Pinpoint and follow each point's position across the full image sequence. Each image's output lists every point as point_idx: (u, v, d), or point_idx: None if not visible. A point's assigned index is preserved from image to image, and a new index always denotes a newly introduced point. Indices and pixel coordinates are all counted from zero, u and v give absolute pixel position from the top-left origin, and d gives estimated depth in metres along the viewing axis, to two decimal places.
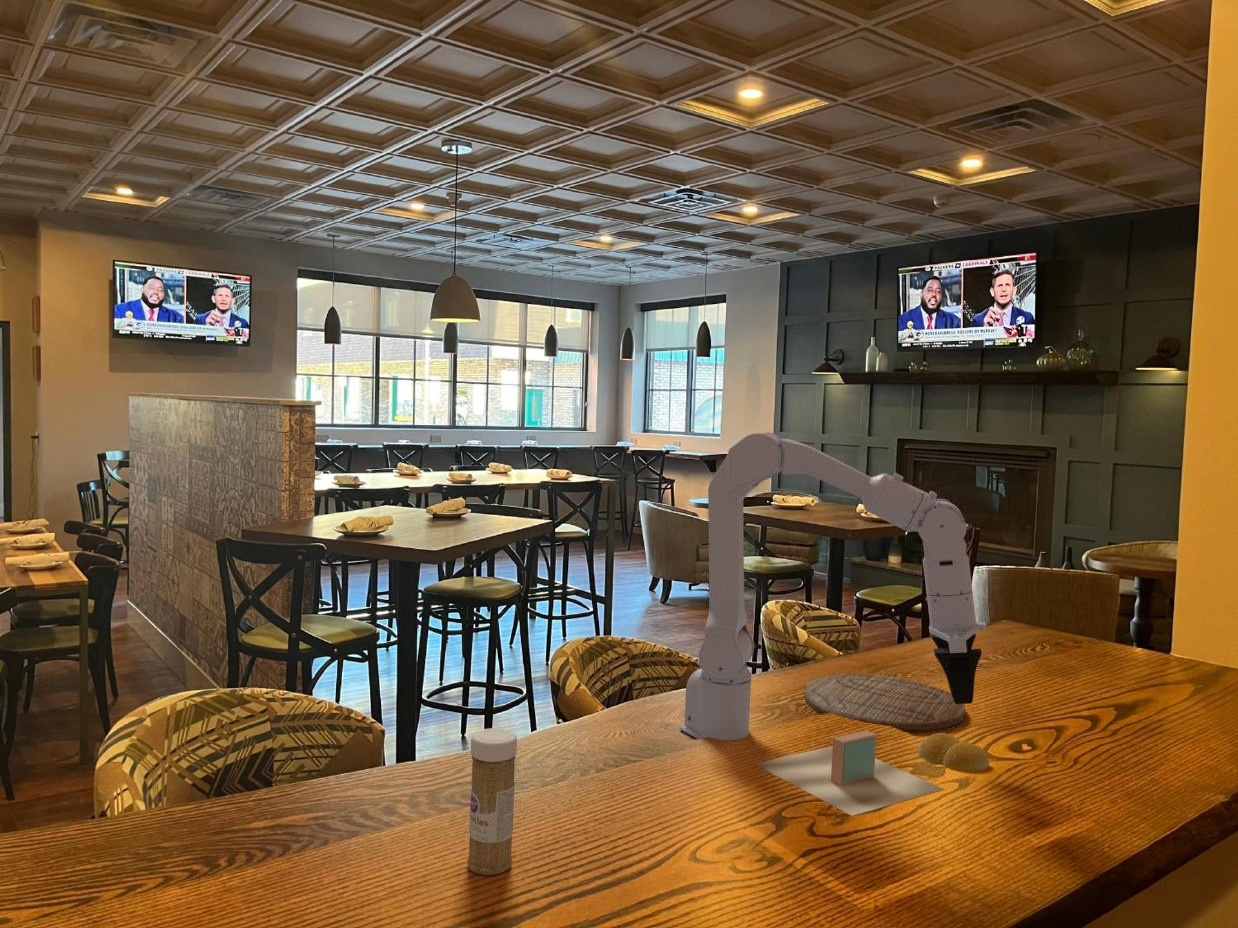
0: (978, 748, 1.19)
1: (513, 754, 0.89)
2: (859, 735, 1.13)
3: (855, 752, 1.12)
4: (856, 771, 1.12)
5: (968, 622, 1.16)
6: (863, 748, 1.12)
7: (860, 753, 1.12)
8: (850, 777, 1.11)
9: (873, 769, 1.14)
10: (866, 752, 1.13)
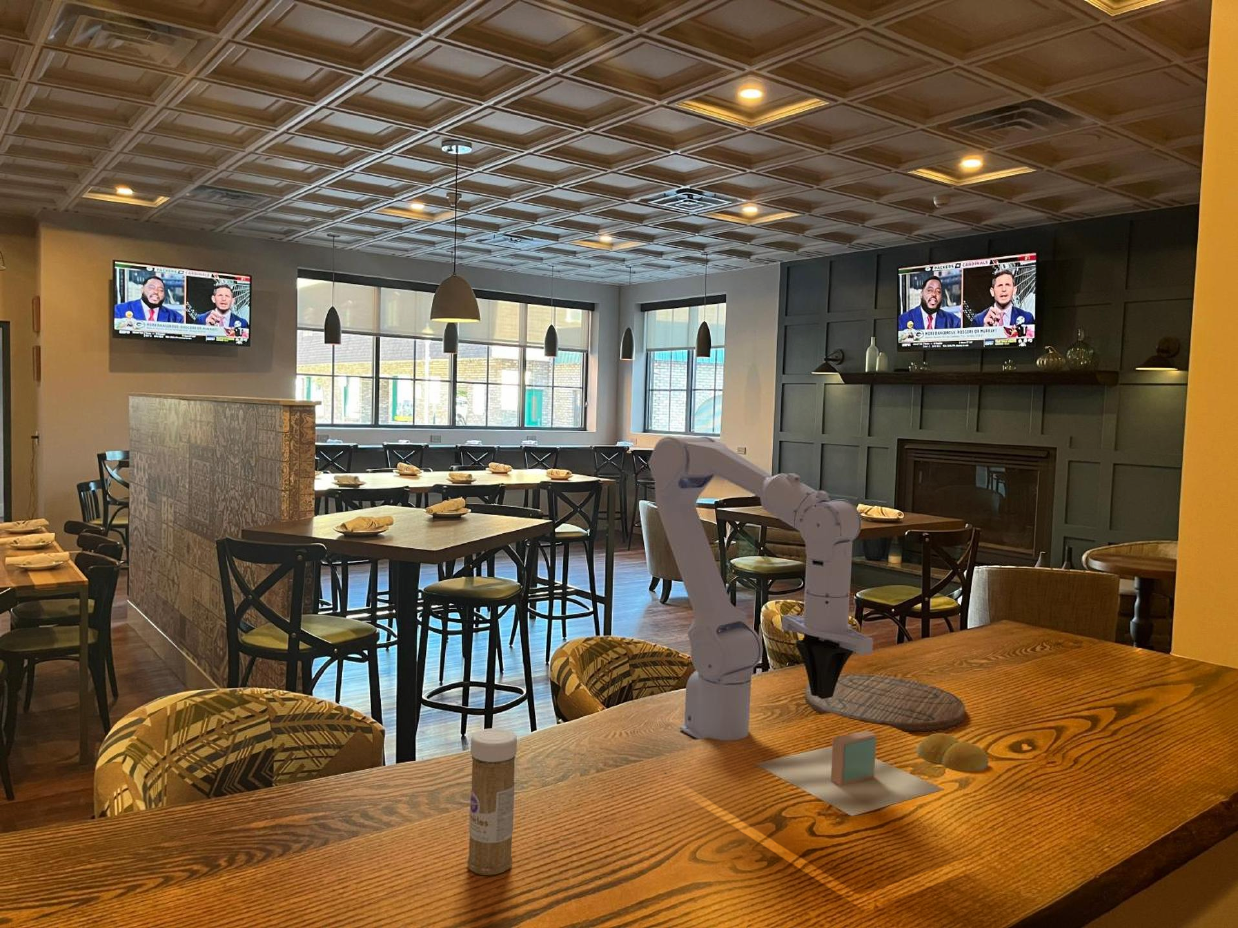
0: (977, 748, 1.19)
1: (513, 754, 0.89)
2: (859, 735, 1.13)
3: (855, 752, 1.12)
4: (856, 771, 1.12)
5: None
6: (863, 748, 1.12)
7: (860, 753, 1.12)
8: (850, 777, 1.11)
9: (873, 769, 1.14)
10: (866, 752, 1.13)
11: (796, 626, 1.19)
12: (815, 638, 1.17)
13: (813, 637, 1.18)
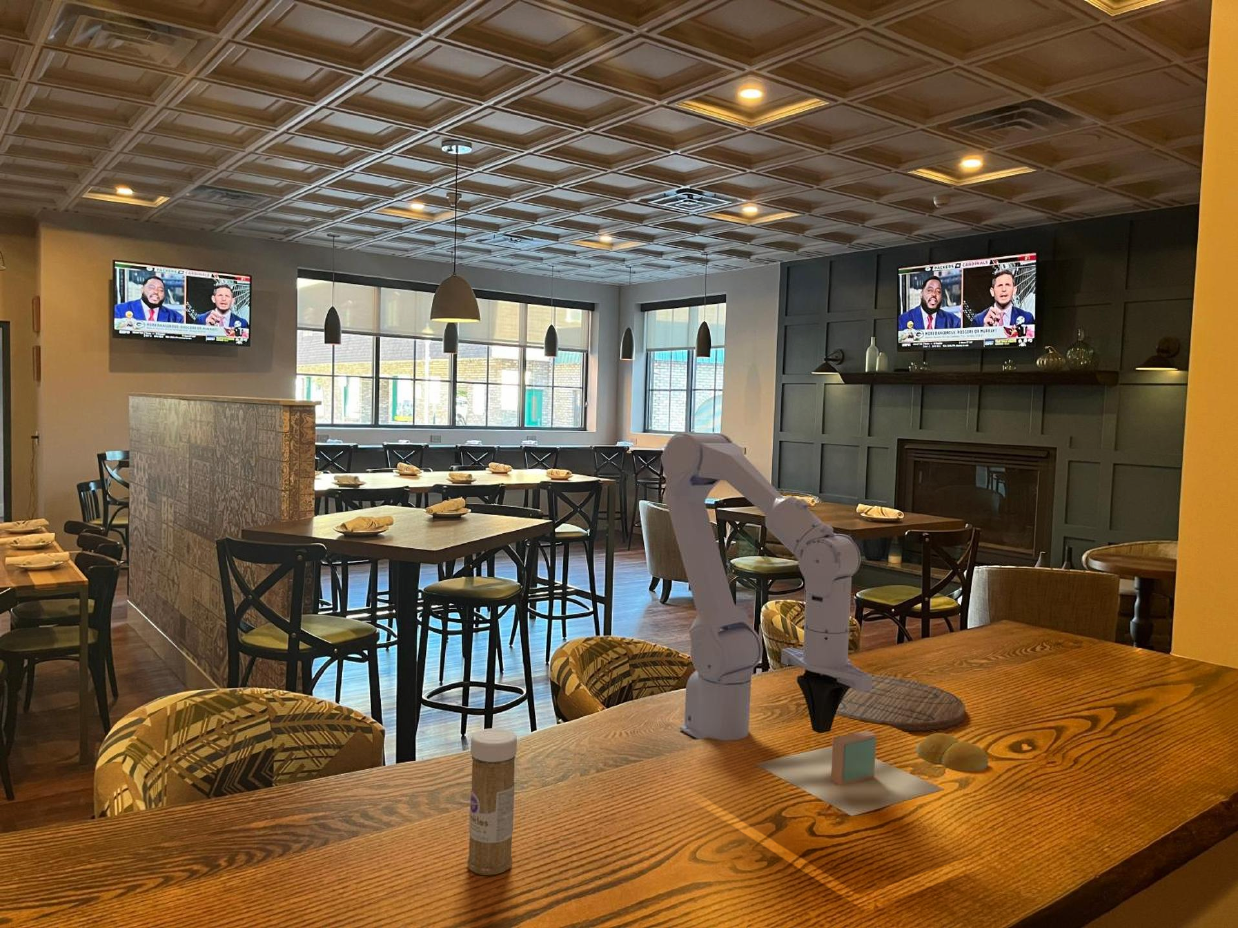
0: (977, 748, 1.19)
1: (513, 754, 0.89)
2: (859, 735, 1.13)
3: (855, 752, 1.12)
4: (856, 771, 1.12)
5: (847, 658, 1.16)
6: (863, 748, 1.12)
7: (860, 753, 1.12)
8: (850, 777, 1.11)
9: (873, 769, 1.14)
10: (866, 752, 1.13)
11: (795, 661, 1.19)
12: (814, 673, 1.18)
13: (812, 672, 1.18)
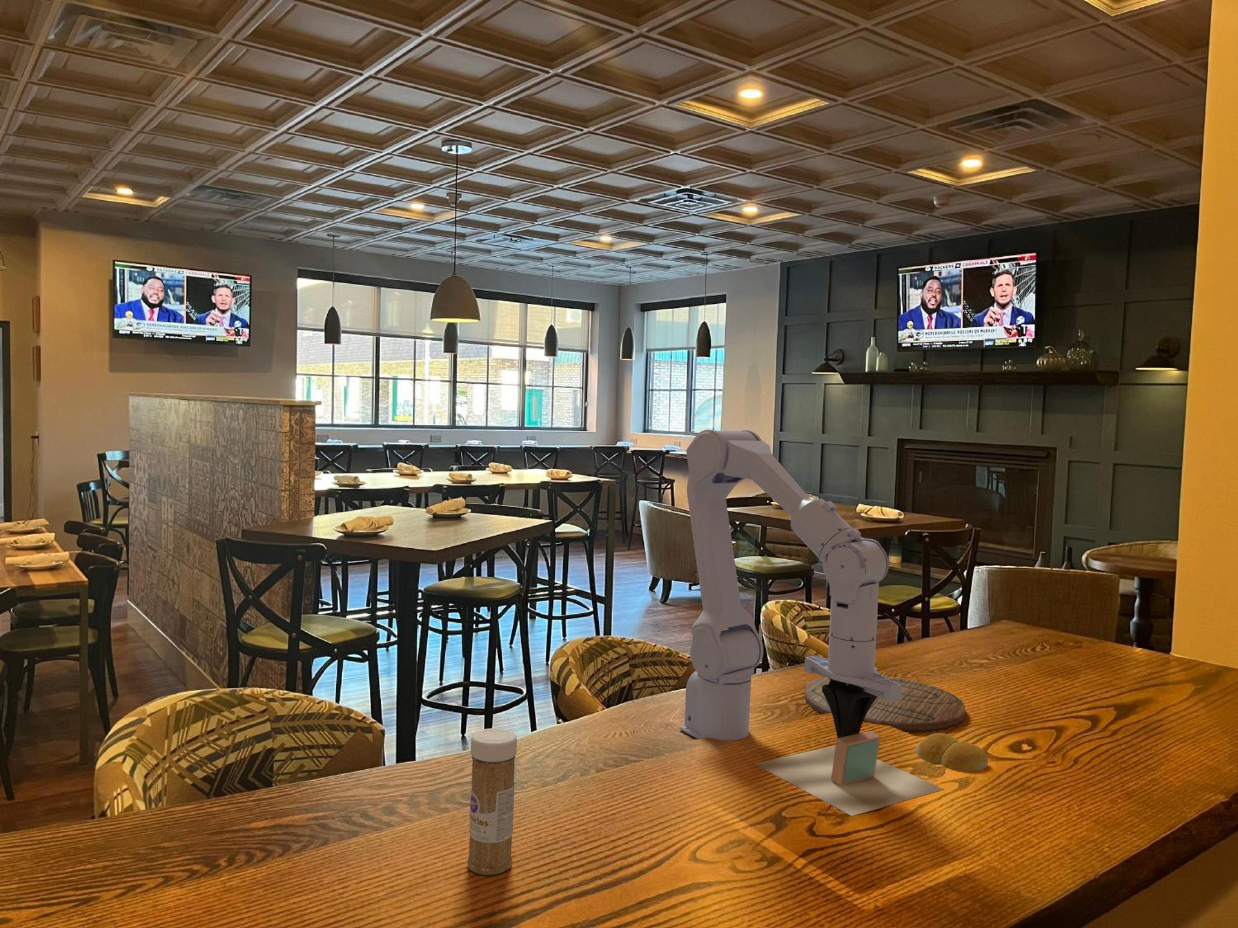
0: (977, 748, 1.20)
1: (513, 754, 0.89)
2: (862, 736, 1.12)
3: (858, 753, 1.11)
4: (857, 772, 1.12)
5: (874, 667, 1.12)
6: (865, 749, 1.12)
7: (862, 754, 1.12)
8: (851, 777, 1.11)
9: (874, 769, 1.14)
10: (868, 753, 1.12)
11: (820, 669, 1.15)
12: (840, 682, 1.14)
13: (838, 681, 1.14)
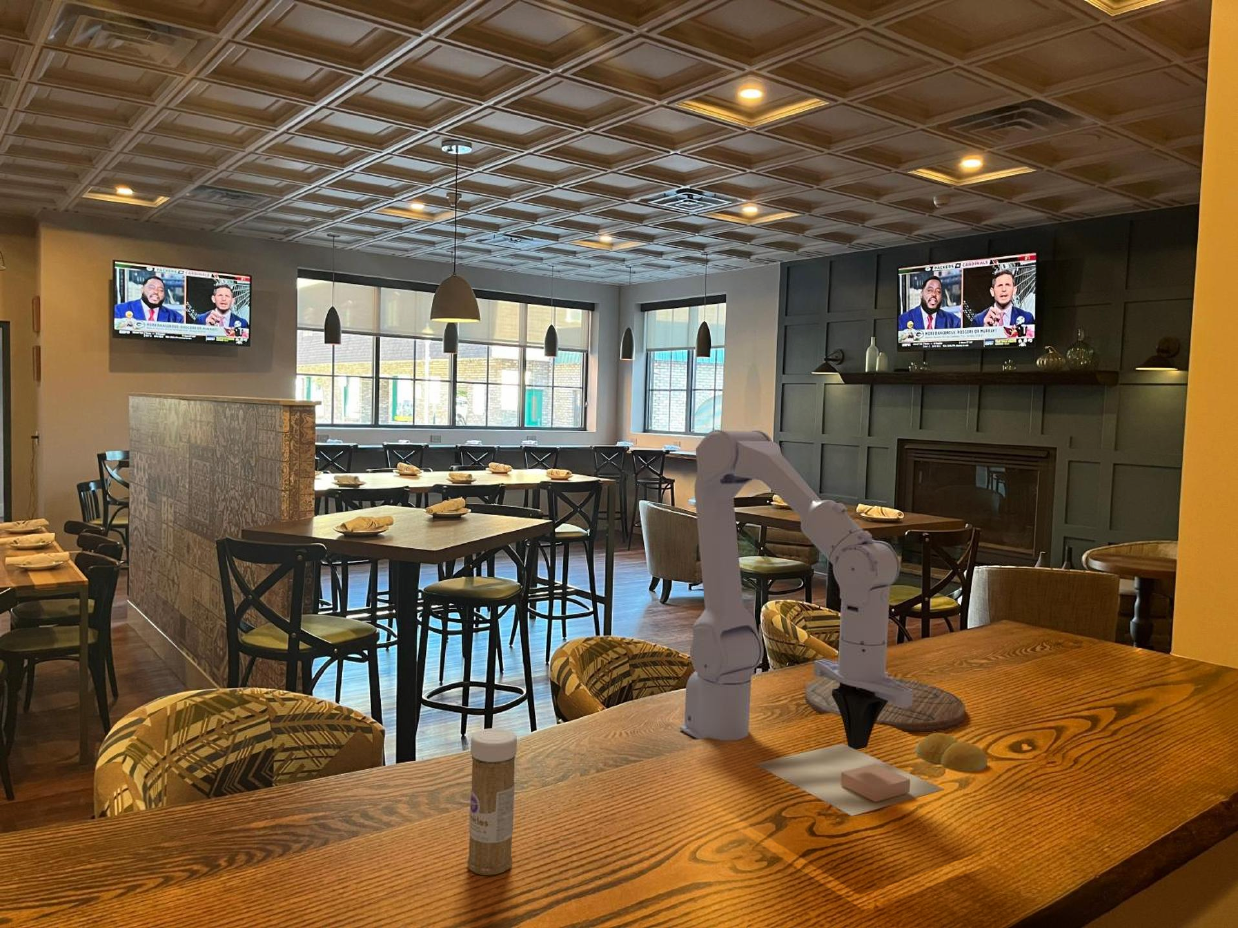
0: (976, 748, 1.20)
1: (513, 754, 0.89)
2: (896, 789, 1.08)
3: None
4: None
5: None
6: None
7: None
8: None
9: None
10: None
11: (830, 673, 1.13)
12: (850, 686, 1.12)
13: (848, 685, 1.13)
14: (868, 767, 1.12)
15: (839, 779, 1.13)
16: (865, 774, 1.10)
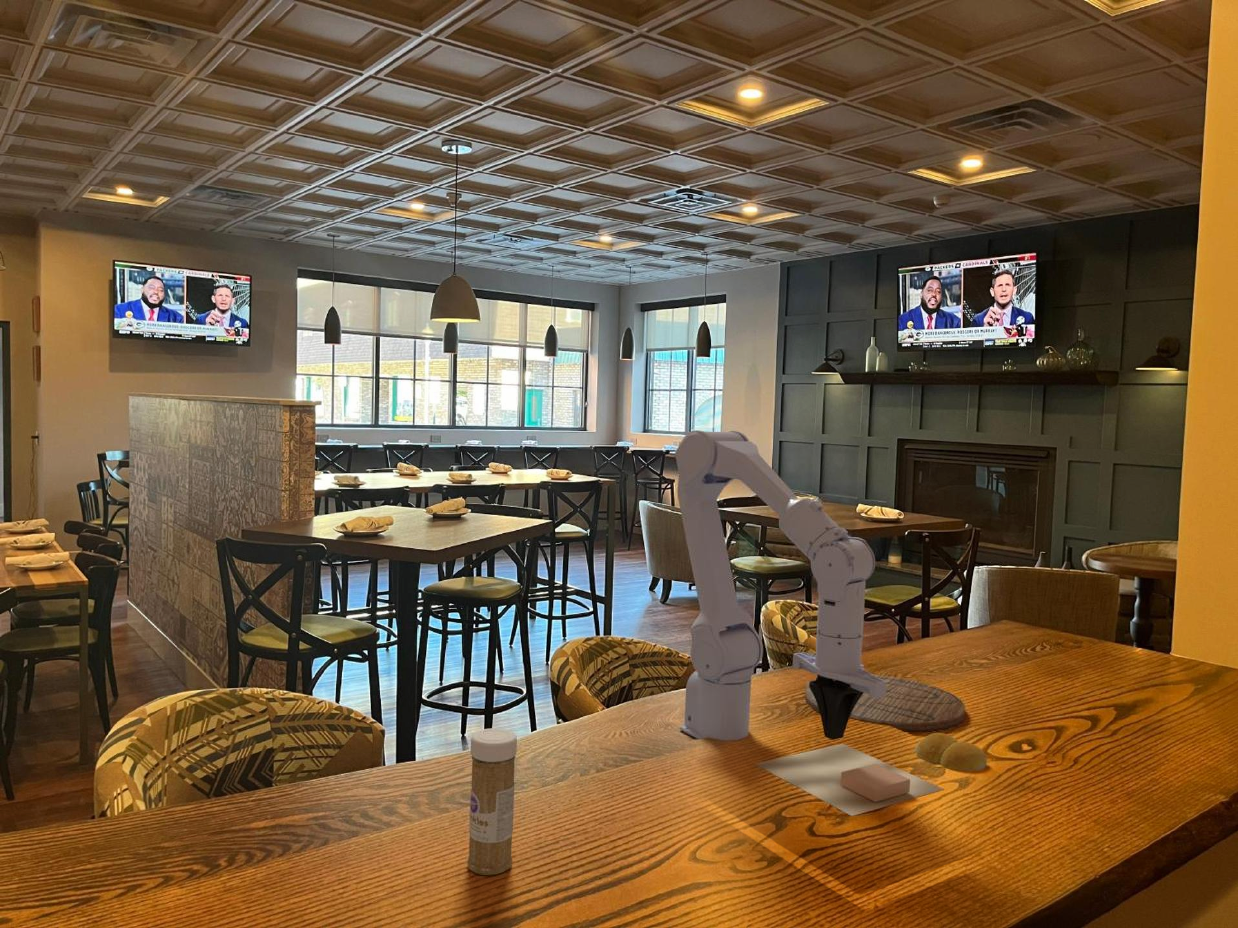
0: (976, 748, 1.20)
1: (513, 754, 0.89)
2: (896, 789, 1.08)
3: None
4: None
5: (860, 663, 1.14)
6: None
7: None
8: None
9: None
10: None
11: (808, 666, 1.17)
12: (827, 678, 1.16)
13: (825, 677, 1.16)
14: (868, 767, 1.12)
15: (839, 779, 1.13)
16: (865, 774, 1.10)
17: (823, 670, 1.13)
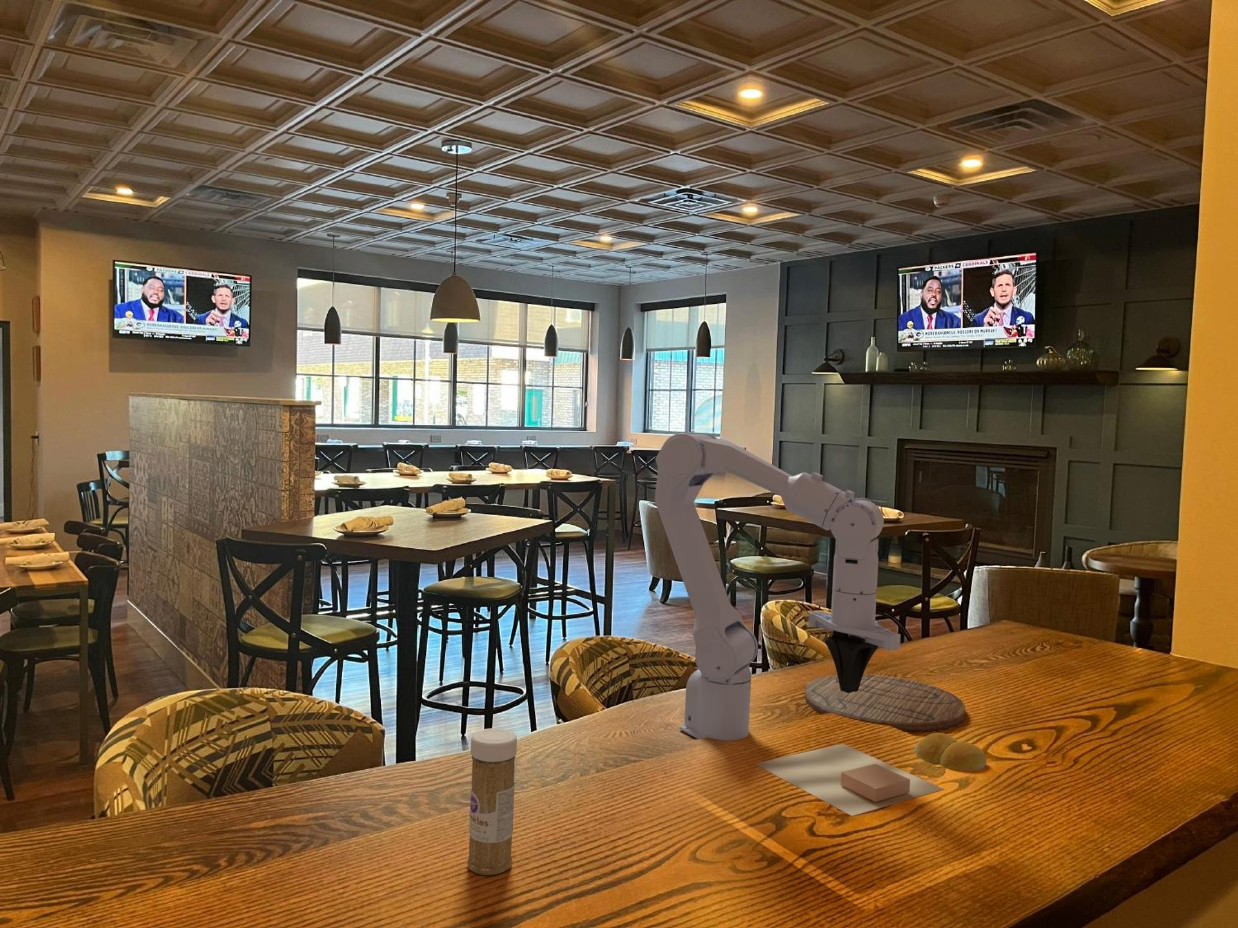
0: (975, 748, 1.20)
1: (513, 754, 0.89)
2: (896, 789, 1.08)
3: None
4: None
5: None
6: None
7: None
8: None
9: None
10: None
11: (824, 623, 1.21)
12: (842, 634, 1.20)
13: (840, 633, 1.20)
14: (868, 767, 1.12)
15: (839, 779, 1.13)
16: (865, 774, 1.10)
17: (839, 625, 1.18)
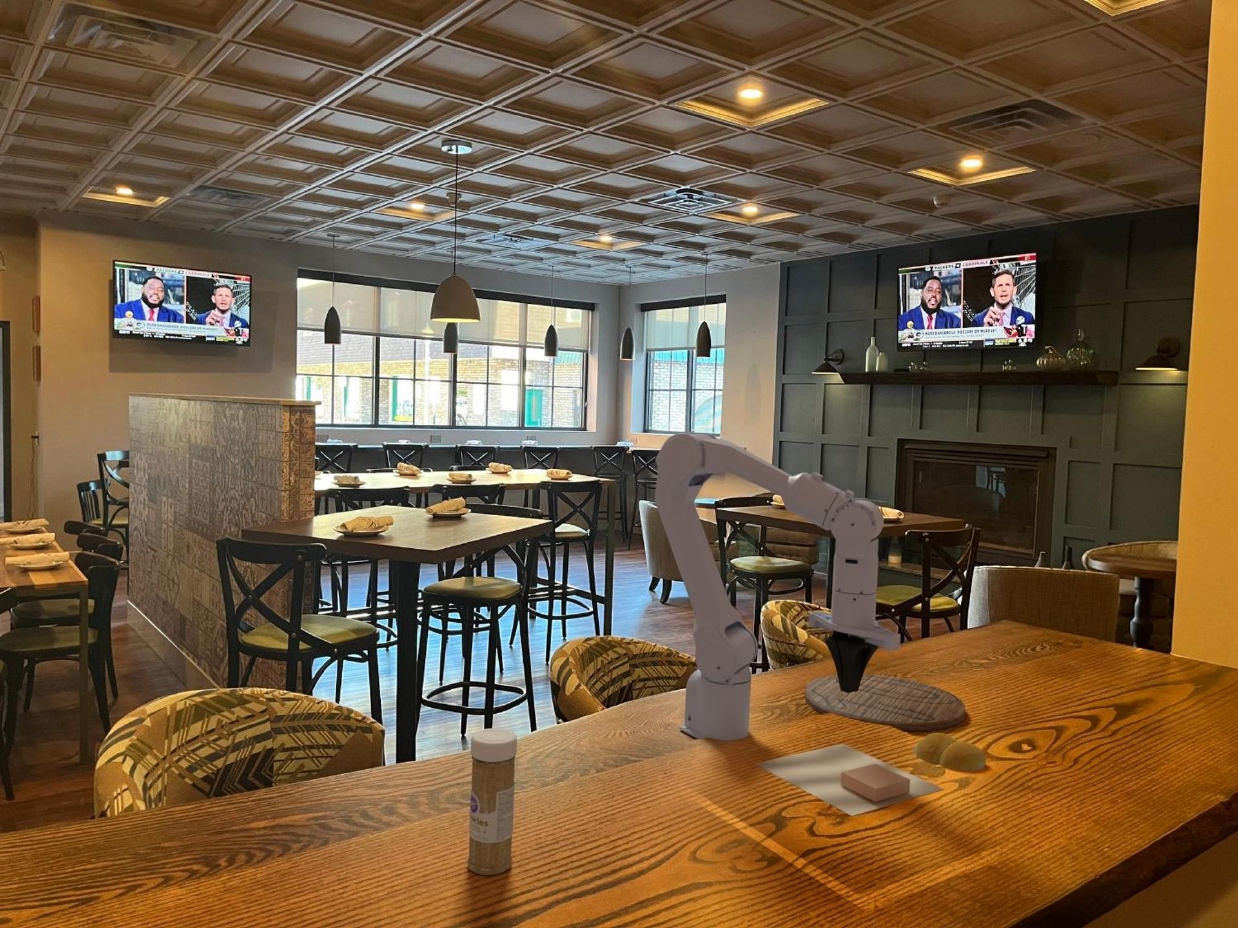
0: (975, 747, 1.20)
1: (513, 754, 0.89)
2: (896, 789, 1.08)
3: None
4: None
5: None
6: None
7: None
8: None
9: None
10: None
11: (824, 623, 1.21)
12: (842, 634, 1.20)
13: (840, 633, 1.20)
14: (868, 767, 1.12)
15: (839, 779, 1.13)
16: (865, 774, 1.10)
17: (839, 625, 1.18)
